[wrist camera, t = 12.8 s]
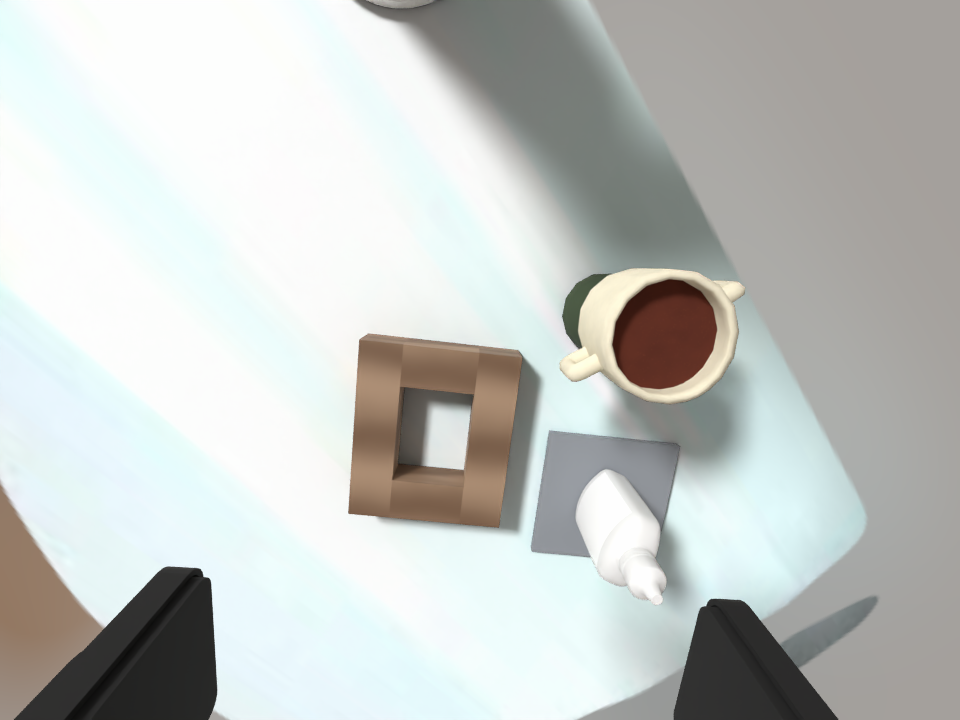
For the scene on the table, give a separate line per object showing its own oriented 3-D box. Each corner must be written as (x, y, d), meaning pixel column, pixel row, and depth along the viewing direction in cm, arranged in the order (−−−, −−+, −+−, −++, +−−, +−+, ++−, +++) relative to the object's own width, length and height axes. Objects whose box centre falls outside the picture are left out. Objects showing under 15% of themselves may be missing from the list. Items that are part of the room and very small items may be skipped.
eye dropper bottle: (558, 496, 38) (597, 598, 26) (614, 460, 38) (679, 548, 26) (585, 533, 39) (635, 648, 27) (640, 499, 38) (716, 601, 27)
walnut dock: (368, 333, 36) (359, 339, 33) (518, 350, 36) (522, 357, 33) (357, 494, 38) (348, 513, 35) (496, 507, 39) (498, 527, 36)
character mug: (558, 383, 37) (605, 445, 24) (518, 306, 35) (546, 329, 23) (679, 320, 36) (795, 349, 23) (643, 239, 35) (745, 222, 22)
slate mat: (549, 430, 38) (550, 433, 37) (676, 443, 38) (680, 446, 38) (530, 547, 40) (531, 551, 39) (651, 558, 40) (654, 562, 40)
